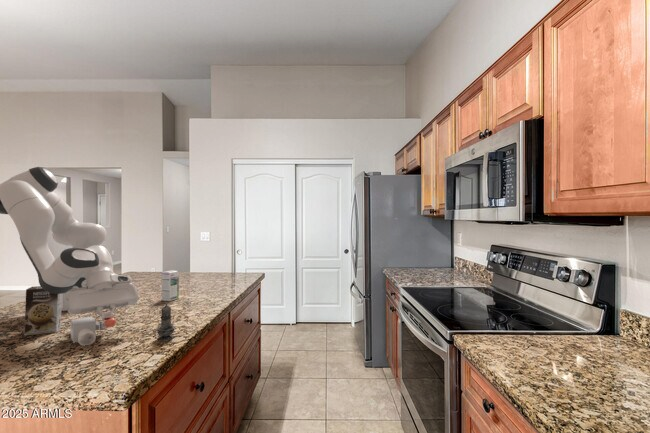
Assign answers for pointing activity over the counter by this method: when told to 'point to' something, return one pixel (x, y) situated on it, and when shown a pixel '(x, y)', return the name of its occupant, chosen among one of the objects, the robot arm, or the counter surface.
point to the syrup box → (170, 285)
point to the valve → (84, 330)
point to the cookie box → (42, 311)
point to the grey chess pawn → (165, 325)
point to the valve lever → (107, 323)
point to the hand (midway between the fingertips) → (107, 319)
